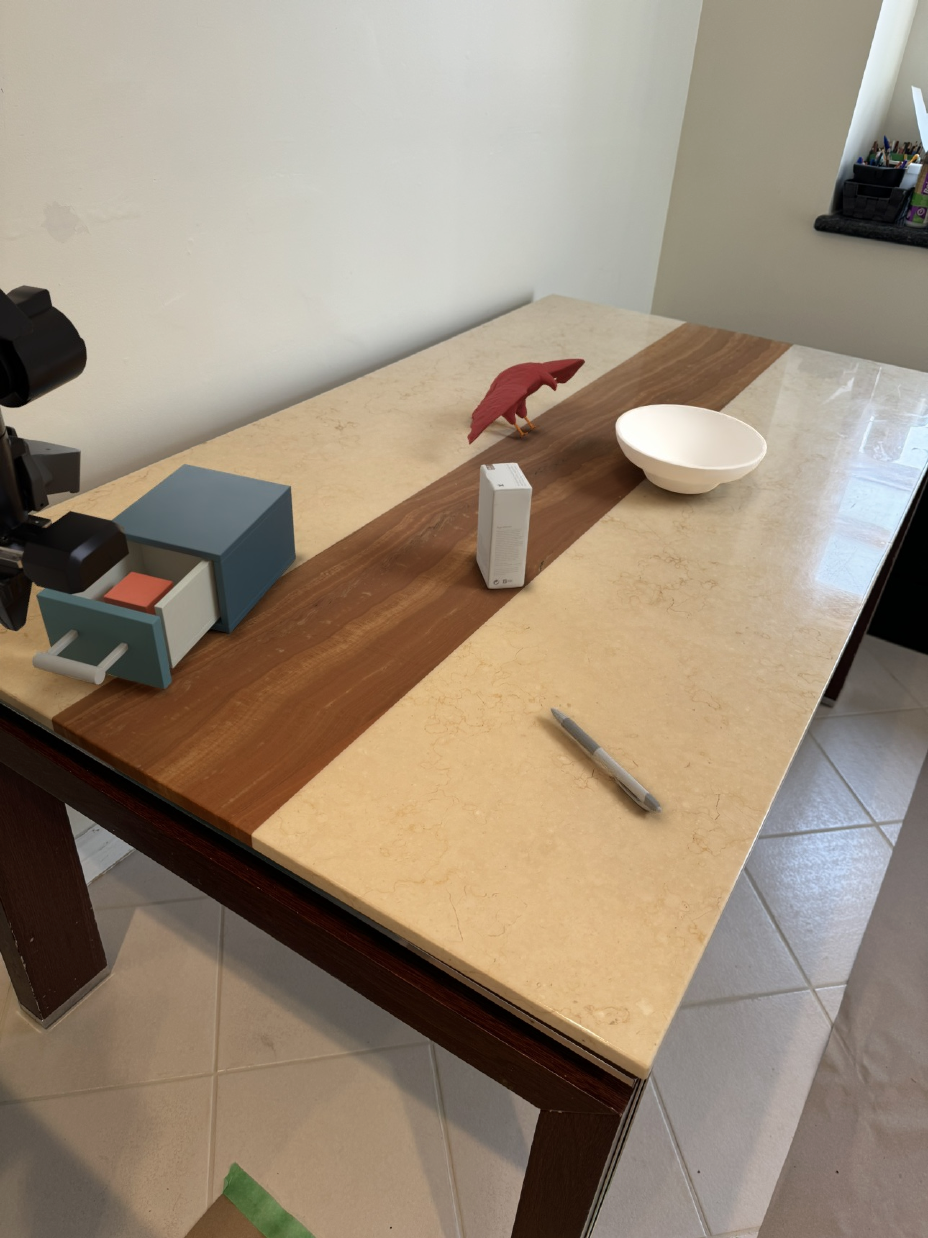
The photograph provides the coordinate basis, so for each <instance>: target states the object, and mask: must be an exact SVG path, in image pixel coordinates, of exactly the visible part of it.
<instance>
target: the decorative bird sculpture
mask: <svg viewBox="0 0 928 1238" xmlns="http://www.w3.org/2000/svg"><path fill="white" fill-rule="evenodd" d="M585 363H586V360H585V359H584V358H564V359H558V360H557V359H556V360H551V361H550V360H549V361H544V362H534V361H533V362H531V361H530V362H523V363H518V364H515V365H512V366H510V367H507V368H506V369H504V370H503V371H500V372H499V373H498V374H497V376H496V377H495V378H494V379H493V381H492V383H491V384H490V385H489V389H488V390H487V392H486V393H485V395H484V398H483V399H482V400H481V401H480V402H479V404H478V405H477V407H476V408H475V409H474V411H473V412H472V414H471V417H470V418H471V419H472V421H471V422H470V425H469V428H470V431H469V433H468V434H467V437H466V438H467V440H468V445H469V446H471V445H472V444H473V443H474V442H476V440H477V439H478V438H479V437H480V435H481V434H483V432H484V431H485V430H486V429H487V428H488V427H490V426H491V425H492V424H493V423H494V422H495V421H496V420H498V419H499V418H500V417H502V418H504V419H505V420H506V422H508V423H509V424H510V425H512V426H514V427H515V428H516V430H517V431H518V433H520V436H519V438H520V439H522V437H524V436H526V435H528V434H529V432H525V433H524V432H523V431H522V430H521V428H520V427H519V426H518V424H517V417H518V418H520V419H524V420H525V422H526V423H527V424H528V425H529V426H530V429H529V431H530V432H532V430H534V429H536V428H538V427H540V425H535V426H534V425H533V424H532V423H531V421H530V420H529V418H528V417H527V416H528V409H527V398H528V397H530V396H532V395H533V394H535V393H537V391H539V390H540V389H541V388H542V386H548V387H549V388H550V389H551V390H552V391H554V392H556V391H557V388H558V385H559V384H566V383H568V381H570V380H572V378H573V377H574V376H575V375H576V374H577V373H578V372H579V370H580V369H581V368H582V367H583V366H584V365H585ZM516 416H517V417H516Z"/></svg>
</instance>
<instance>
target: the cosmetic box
mask: <svg viewBox="0 0 928 1238" xmlns="http://www.w3.org/2000/svg"><path fill="white" fill-rule="evenodd" d="M532 494H533V487H532V485H531V484H530V482H529V480H528V479H527V478H526V476H525V474H524V472H523V471H522V469H521V467H520V465H519V464H518V462H501V463H490V464H481V465H480V469H479V487H478V513H477V514H478V515H477V537H476V563H477V565H478V567H479V570H480V572H481V574H482V577H483V579H484V582H485V585H486V586H487V588H488V589H494V590H495V589H497V590H498V589H512V588H520V587H521V588H522V587H523V586H524V584H525V575H526V565H527V564H526V562H527V551H528V541H529V529H530V520H531V519H530V517H531V506H532Z"/></svg>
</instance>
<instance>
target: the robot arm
mask: <svg viewBox="0 0 928 1238" xmlns="http://www.w3.org/2000/svg"><path fill="white" fill-rule="evenodd" d="M87 352H88V351H87V345H86V341H85V339H84V338H83V337H81V335H80V333H79V331H78V329H77V328H76V326H75V325H74V323H73V322H72V321H71V319H70V318H69V317H67V315H66V314H65V313H64V312H62V311H61V310H59V309H58V308H57V307H55V306H53V302H52V297H51V293H50V291H49V289H47V288H42V287H38V286H31V285H25V284H23V285H21V286H18V287H15V288H13V289H11V290H10V291H9V292H8V293H5V292H4V290H3V289H2V288H0V406H2V407H4V408H8V409H19V408H21V407H24V406H27V405H28V404H30V403H33V402H34V401H36V400H38V399H40V398H41V397H44V396H45V395H47V394H49V393H51V392H53V391H55V390H56V389H58V388H60V387H62V386H64V385H66V384H68V383H70V382H71V381H73V380H75V379H77V378H78V377H79V376H81V375H82V374H83V372H84V370H85V368H86V367H87V360H88V353H87ZM81 454H82V450H81V449H79V448H75V447H72V446H67V445H61V444H58V443H57V444H56V443H52V442H47V441H43V440H37V439H28V438H23V437H20V436H19V435H18V434H17V431H16V428H14V427H13V426H10V425H6V423H5V420H4V416H3V413H2V408H1V407H0V625H1V626H2V627H4V629H6V630H8V631H12V632H18V631H20V630H21V629H22V628H23V627H24V626H25V625H26V624H27V618H28V612H29V606H30V602H31V593H32V588H33V584H35V585H36V587H40V588H43V589H44V588H47V589H51V590H55V591H59V592H62V593H66V594H70V595H71V594H76V593H81V592H84V591H85V590H86V589H88V588H89V587H90V586H91V585H92V584H94V583H95V582H96V581H97V580H98V579H100V578H101V577H102V576H103V575H104V574H106V573H107V572H108V571H109V570H110V569H111V568H113V567H114V566H115V565H116V564H117V563H119V562H120V561H121V560H122V559H123V558H125V557H126V556H127V555H128V554H129V550H128V545H127V540H126V535H125V532H124V529H123V526H122V525H120V524H118V523H116V522H114V521H112V519H107V518H102V517H99V516H95V515H94V516H93V515H90V514H86V513H81V512H77V511H76V512H75V511H72V510H69V511H68V512H67V513H65V514H64V515H62V516H61V517H59V518H58V519H56V520H55V521H52V519H51V518H47V517H42V516H38V515H34V514H30V513H32V512H36V513H40V512H41V511H42V510H43V509H45V508H47V507H48V506H49V505H50V501H49V497H48V496H51V495H57V494H61V493H70V494H78V493H79V492H80V490H81V463H82V462H81V457H82V455H81Z"/></svg>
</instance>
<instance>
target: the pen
mask: <svg viewBox="0 0 928 1238" xmlns="http://www.w3.org/2000/svg"><path fill="white" fill-rule="evenodd" d="M550 713H551V714H552V716H553V718H554V719H555V720H556V721H557V723H558V724H559V725H560V726H561V727H562V729H564V730H565V731H566V732H567V733H568V734H569V735H570V736H571V737H572V738H573V739H575V741H577V743H578V744H580V745H581V746H582V747H583V748H584V749H585V750H586V751H587V752H588V753H589V754H590V755H591V756H593V758H595V759H596V760H597V761H598V762H599V763H600V764H602V765H603V767H604V768H606V769H607V770H608V772H610V773H611V774H612V777H613V778H614V780H615V782H616V783H617V784H618V785H619V787H620V788H621V789H622V790H623V791H624V792H625V793H626V795H628V796H629V798H630V799H632V800H633V801H634V802H635V803H636V804H637V805H638V806H639V807H641V808H642V809H644V810H646V811H648V812H657V813H658V814H661V813H662V812H663V808H662V807H661V804H660V803H659V801H658V800H657V799H656V797H655V796H653V794H652V793H650V792H649V791H648V790H647V789H646V788H645V787H644V786H642V784H640V783H639V782H638V781H637V780H636V779H635V778H634V777H633V776H632V775H631V774H630V773H629V772H628V771H627V770H626V769H625V768H623V766H621V765H620V764H619V763H618V762H617V761H616V760H615V759H614V758H613V757H611V756H610V755H609V753H607V752H606V751H605V749H604V748H603V747H602V746H601V745H599V744H598V743H597V742H596V741H595V740H594V739H593V738H592V737H591V736H589V734H587V732H585V731H584V730H583V729H582V728H581V727H580V726H579V725H578V724H577V723H576V722H575V721H573V720H572V719H571V717H568V716H567V715H566V714H564V713H563V712H562V711H561V710H559V709H557V708H554V707H550ZM628 790H629V791H630V792H629V791H628Z"/></svg>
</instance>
